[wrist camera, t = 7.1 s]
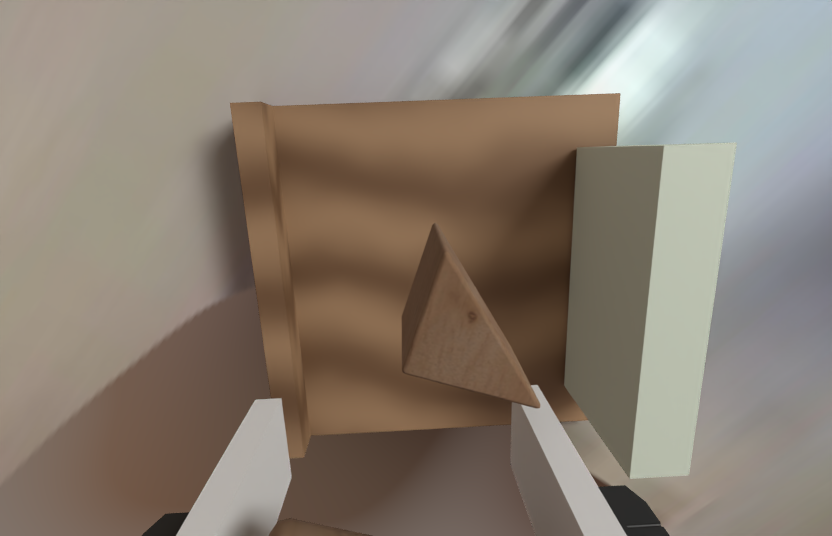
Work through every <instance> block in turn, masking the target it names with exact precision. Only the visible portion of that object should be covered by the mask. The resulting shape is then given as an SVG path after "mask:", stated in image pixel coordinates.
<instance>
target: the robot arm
mask: <svg viewBox="0 0 832 536" xmlns="http://www.w3.org/2000/svg"><path fill="white" fill-rule="evenodd" d="M531 387H532V389H533V391H534V393H535V395H536V396H537V398H538V400H539V402H540V404H541V405H540V408H537V409H536V408H533V407H529V406H525V405H521V404H517V403H514V402H512V418H511V464H510V465H511V467H512V470H513V473H514V476H515V478H516V482H517V484H518V487H519V490H520V493H521V496H522V498H523V501H524V504H525V507H526V510H527V513H528V516H529V518H530V521H531V524H532V527H533V529H534V533H535V535H536V536H669V534H668V533H667V531H666V530H665V528H664V527H661V524H660V521H659V520H658V519H657V517H656V516H655V514H654V513H653V511H652V510H651V509H650V507H649V506H648V504H647V503H646V502H645V501H644V500H643V499H641V498H640V497H639V496H638V495H636V494H635V493H634V492H633V491H631V490H630V489H629V488H628V487H626V486H625V485H624V486H607V487H598V486H597V484H596V483H595V481H594V479H593V478H592V476H591V474H590V473H589V471H588V469H587V467H586V466H585V464H584V462H583V461H582V459H581V457H580V456H579V454H578V452H577V451H576V449H575V447H574V445H573V444H572V442H571V440H570V439H569V437H568V435H567V434H566V432H565V430H564V429H563V427H562V425H561V424H560V422H559V420H558V418H557V417H556V415H555V413H554V412H553V410H552V408H551V407H550V405H549V403H548V402H547V400H546V398H545V397H544V395H543V393H542V391H541V390H540V388H539V386H538V385H531ZM291 477H292V476H291V469H290V461H289V453H288V446H287V438H286V430H285V422H284V415H283V407H282V399H281V398H276V399H257V400H255V401H254V403H253V404H252V406H251V408H250V410H249V411H248V413H247V415H246V416H245V418H244V420H243V421H242V423H241V425H240V427H239V428H238V430H237V432H236V433H235V435H234V437H233V439H232V440H231V442H230V444H229V446H228V447H227V449H226V451H225V452H224V454H223V456H222V457H221V459H220V461H219V463H218V464H217V466H216V468H215V469H214V471H213V473H212V475H211V477H210V478H209V480H208V482H207V483H206V485H205V487H204V488H203V490H202V492H201V494H200V495H199V497H198V499H197V500H196V502H195V504H194V506H193V507H192V509H191V511H190V512H188V513H171V514H165V515H164V516H163V517H162V518H160V519H159V520H158V521H157V522H156V523H155V524H154V525H153V526H151V527H150V528H149V529H148V530H147V531H146V532H145V533H144V534H143V535H142V536H269V534H270V532H271V531H272V529H273V528H274V526H275V525H276V523H277V520H278V517H279V514H280V511H281V508H282V505H283V502H284V498H285V496H286V492H287V489H288V486H289V483H290V480H291Z"/></svg>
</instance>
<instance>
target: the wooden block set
mask: <svg viewBox="0 0 832 536" xmlns="http://www.w3.org/2000/svg"><path fill="white" fill-rule="evenodd" d="M402 372H403V373H404V374H407V375H411V376H415V377H418V378H422V379H426V380H430V381H434V382H437V383H441V384H445V385H449V386H453V387H456V388H460V389H464V390H468V391H472V392H476V393H479V394H483V395H487V396H491V397H495V398H498V399H502V400H506V401H510V402H514V403H517V404H521V405H525V406H529V407H533V408H536V409H537V408H540V405H541V404H540V402H539V400H538V398H537V396H536V395H535V393H534V391H533V389H532V387H531V385H530V383H529V381H528V379H527V377H526V375H525V373H524V371H523V369H522V367H521V365H520V363H519V361H518V359H517V357H516V356H515V354H514V352H513V350H512V348H511V346H510V344H509V343H508V341H507V339H506V337H505V336H504V334H503V332H502V331H501V329H500V327H499V326H498V324H497V322H496V321H495V319H494V317H493V316H492V314H491V312H490V311H489V309H488V307H487V306H486V304H485V302H484V301H483V299H482V297H481V296H480V294H479V292H478V291H477V289H476V287H475V286H474V284H473V282H472V281H471V279H470V277H469V276H468V274H467V272H466V271H465V269H464V267H463V266H462V264H461V262H460V261H459V259H458V257H457V255H456V254H455V252H454V250H453V249H452V247H451V245H450V244H449V242H448V240H447V239H446V237H445V235H444V234H443V232H442V230H441V229H440V227H439V225H438V224H437V223H434V224H432V227H431V230H430V233H429V236H428V239H427V242H426V245H425V248H424V251H423V254H422V257H421V260H420V263H419V266H418V269H417V272H416V275H415V278H414V281H413V284H412V287H411V290H410V293H409V296H408V299H407V302H406V305H405V308H404V311H403V314H402ZM269 536H371V535H366V534H362V533H357V532H352V531H348V530H343V529H338V528H334V527H329V526H324V525H320V524H315V523H310V522H305V521H301V520H296V519H292V518H289V519H285V520H281V521H278V522H277V524H276V525H275V526H274V528H273V529H272V531H271V532H270V534H269Z"/></svg>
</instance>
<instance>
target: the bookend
mask: <svg viewBox="0 0 832 536" xmlns="http://www.w3.org/2000/svg"><path fill="white" fill-rule="evenodd" d="M736 145H737V143H706V144H668V145H631V146H605V147H580V148H577V156H576V175H575V193H574V212H573V230H572V249H571V268H570V286H569V305H568V323H567V342H566V360H565V379H564V386H565V388H566V389H567V390H568V392H569V393H570V395H571V396H572V398H573V399H574V400H575V402H576V403H577V405H578V406H579V408H580V409H581V410H582V412H583V413H584V415H585V416H586V417H587V419H588V420H589V422H590V423H591V425H592V426H593V427H594V429H595V430H596V432H597V433H598V435H599V436H600V437H601V439H602V440H603V442H604V443H605V444H606V446H607V447H608V449H609V450H610V452H611V453H612V454H613V456H614V457H615V459H616V460H617V461H618V463H619V464H620V466H621V467H622V469H623V470H624V471H625V473H626V474H627V476H628V477H629V479H634V478H651V477H668V476H684V475H689V471H690V464H691V457H692V450H693V443H694V436H695V429H696V422H697V415H698V408H699V401H700V394H701V387H702V380H703V374H704V367H705V360H706V353H707V346H708V339H709V332H710V325H711V318H712V311H713V304H714V297H715V290H716V283H717V276H718V269H719V262H720V256H721V249H722V242H723V235H724V228H725V221H726V214H727V207H728V200H729V193H730V186H731V179H732V172H733V165H734V158H735V151H736Z"/></svg>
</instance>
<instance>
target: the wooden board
mask: <svg viewBox="0 0 832 536" xmlns="http://www.w3.org/2000/svg"><path fill="white" fill-rule="evenodd" d="M619 105H620V93H616V94H589V95H562V96H535V97H508V98H481V99H454V100H427V101H400V102H373V103H346V104H319V105H292V106H271V105H268V104H265V103H262V102H242V103H230V107H231V114H232V122H233V129H234V136H235V143H236V150H237V158H238V165H239V172H240V179H241V186H242V194H243V201H244V208H245V215H246V222H247V229H248V237H249V244H250V251H251V258H252V265H253V273H254V280H255V287H256V294H257V301H258V308H259V315H260V323H261V329H262V336H263V345H264V351H265V359H266V366H267V373H268V380H269V387H270V395H271V399H276V398H281V399H282V407H283V415H284V422H285V430H286V438H287V446H288V453H289V458H304V456H305V453H306V449H307V446H308V443H309V440H310V437H311V436H314V435H333V434H350V433H366V432H367V433H368V432H386V431H402V430H403V431H404V430H422V429H440V428H456V427H474V426H492V425H511V418H512V402H510V401H506V400H502V399H498V398H495V397H491V396H487V395H483V394H479V393H476V392H472V391H468V390H464V389H460V388H456V387H453V386H449V385H445V384H441V383H437V382H434V381H430V380H426V379H422V378H418V377H415V376H411V375H407V374H404V373H403V372H402V314H403V311H404V308H405V305H406V302H407V299H408V296H409V293H410V290H411V287H412V284H413V281H414V278H415V275H416V272H417V269H418V266H419V263H420V260H421V257H422V254H423V251H424V248H425V245H426V242H427V239H428V236H429V233H430V230H431V227H432V224H434V223H437V224H438V225H439V227H440V229H441V230H442V232H443V234H444V235H445V237H446V239H447V240H448V242H449V244H450V245H451V247H452V249H453V250H454V252H455V254H456V255H457V257H458V259H459V261H460V262H461V264H462V266H463V267H464V269H465V271H466V272H467V274H468V276H469V277H470V279H471V281H472V282H473V284H474V286H475V287H476V289H477V291H478V292H479V294H480V296H481V297H482V299H483V301H484V302H485V304H486V306H487V307H488V309H489V311H490V312H491V314H492V316H493V317H494V319H495V321H496V322H497V324H498V326H499V327H500V329H501V331H502V332H503V334H504V336H505V337H506V339H507V341H508V343H509V344H510V346H511V348H512V350H513V352H514V354H515V356H516V357H517V359H518V361H519V363H520V365H521V367H522V369H523V371H524V373H525V375H526V377H527V379H528V381H529V383H530V385H538V386H539V388H540V390H541V391H542V393H543V395H544V397H545V398H546V400H547V402H548V403H549V405H550V407H551V408H552V410H553V412H554V413H555V415H556V417H557V418H558V420H559V422H564V421H582V420H588V419H587V417H586V416H585V415H584V413H583V412H582V410H581V409H580V408H579V406H578V405H577V403H576V402H575V400H574V399H573V398H572V396H571V395H570V393H569V392H568V390H567V389H566V388H565V386H564V379H565V360H566V342H567V323H568V305H569V286H570V268H571V249H572V230H573V212H574V193H575V175H576V156H577V148H580V147H605V146H616V144H617V131H618V118H619Z"/></svg>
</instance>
